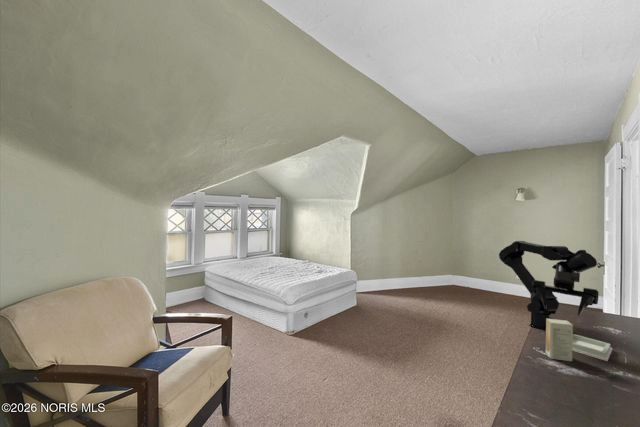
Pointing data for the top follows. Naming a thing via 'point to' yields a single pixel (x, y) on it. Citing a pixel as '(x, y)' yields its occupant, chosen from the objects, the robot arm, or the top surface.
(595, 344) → the dock
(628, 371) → the top surface
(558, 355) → the skincare box
